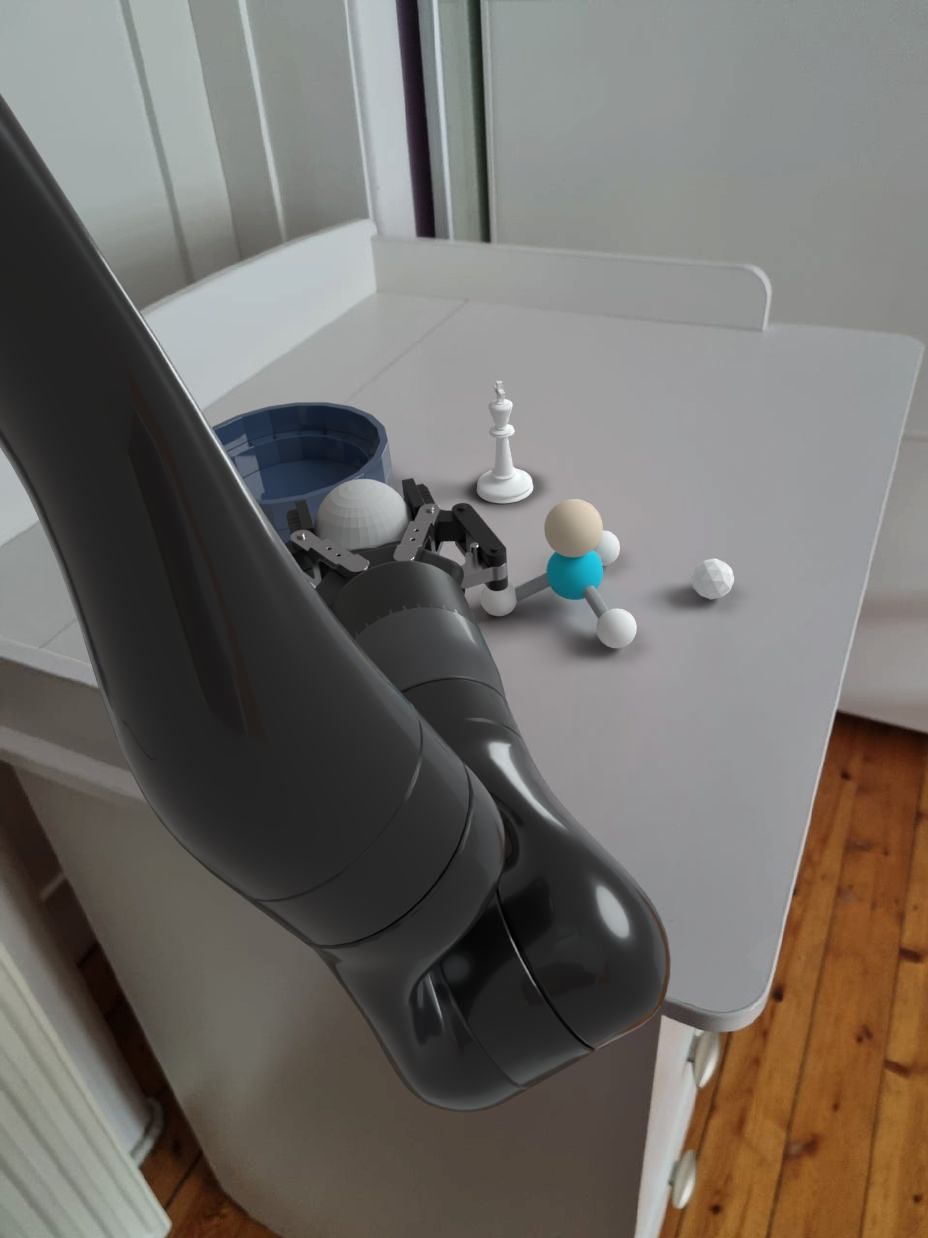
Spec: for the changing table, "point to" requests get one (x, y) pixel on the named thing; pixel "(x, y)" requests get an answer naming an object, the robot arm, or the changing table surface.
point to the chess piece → (503, 458)
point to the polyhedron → (712, 578)
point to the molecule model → (573, 570)
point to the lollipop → (362, 515)
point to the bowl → (304, 454)
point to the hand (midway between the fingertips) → (355, 502)
